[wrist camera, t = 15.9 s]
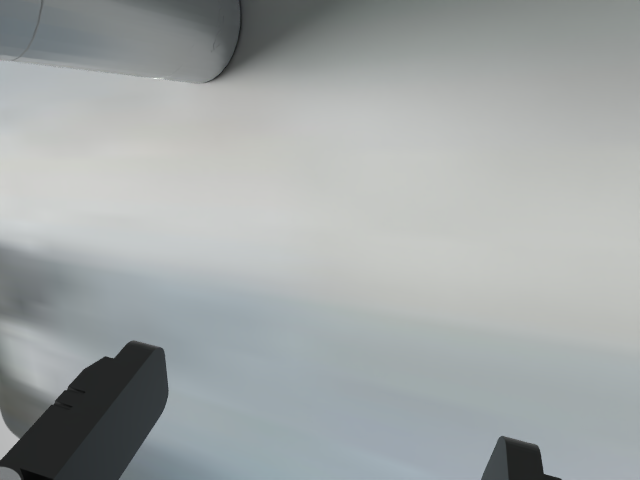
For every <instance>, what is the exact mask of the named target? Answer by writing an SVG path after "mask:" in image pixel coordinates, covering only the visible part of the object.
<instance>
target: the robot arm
mask: <svg viewBox="0 0 640 480" xmlns="http://www.w3.org/2000/svg"><path fill="white" fill-rule="evenodd" d="M239 29H240V5H239V0H0V61H11V62H19V63H28V64H36V65H45V66H54V67H62V68H71V69H79V70H88V71H96V72H105V73H113V74H122V75H131V76H139V77H148V78H155V79H163V80H172V81H180V82H189V83H205V82H207V81H209V80H212V79H214V78H215V77H216V76H217V75H219V74H220V73H221V72H222V71H223V69H224V68H225V67H226V65H227V64H228V62H229V61H230V59H231V57H232V55H233V53H234V50H235V47H236V44H237V41H238V35H239ZM167 398H168V381H167V371H166V362H165V353H164V350H163V349H162V348H161V347H157V346H153V345H149V344H145V343H142V342H138V341H130V342H129V343H128V344H126V345H125V347H124V348H123V349H122V350H121V351H120V352H119V354H118V355H117V356H116V357H115V358H114V359H113V358H109V357H106V356H105V357H103V358H102V359H100V360H99V361H97V362H95V363H94V364H92V365H90V366H89V367H87V368H85V369H84V370H83V371H82V372H81V373H80V374H79V375H78V376H77V378H76V379H75V380H74V381H73V382H72V383H71V384H70V385H69V386H68V389H67V390H65V391H64V392H63V393H62V394H61V395H60V396H59V397H58V398H57V399H56V400H55V403H54V405H51V406H50V407H49V408H48V409H47V410H46V411H45V413H44V414H43V415H42V416H41V417H40V418H39V419H38V420H37V421H36V422H35V423H34V425H33V426H32V427H31V428H30V429H29V430H28V431H27V432H26V433H25V434H24V435H23V437H22V438H21V439H20V440H19V441H18V442H17V443H16V444H15V445H14V446H13V448H12V449H11V450H10V451H9V452H8V453H7V454H6V455H5V456H4V457H3V458H2V459H1V460H0V480H119V478H120V477H121V475H122V473H123V472H124V470H125V469H126V467H127V466H128V464H129V463H130V461H131V460H132V458H133V457H134V455H135V454H136V452H137V451H138V449H139V448H140V446H141V445H142V443H143V442H144V440H145V439H146V437H147V435H148V434H149V432H150V431H151V429H152V428H153V426H154V425H155V423H156V422H157V420H158V419H159V417H160V416H161V414H162V412H163V410H164V408H165V405H166V402H167ZM481 480H562V479H560V478H557V477H553V476H549V475H546V474H544V472H543V466H542V459H541V453H540V449H539V447H538V446H537V445H535V444H531V443H527V442H523V441H520V440H516V439H512V438H508V437H504V436H501V437H500V438H499V439H498V441H497V444H496V446H495V448H494V451H493V453H492V455H491V457H490V460H489V462H488V464H487V467H486V469H485V471H484V473H483V476H482V479H481Z"/></svg>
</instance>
